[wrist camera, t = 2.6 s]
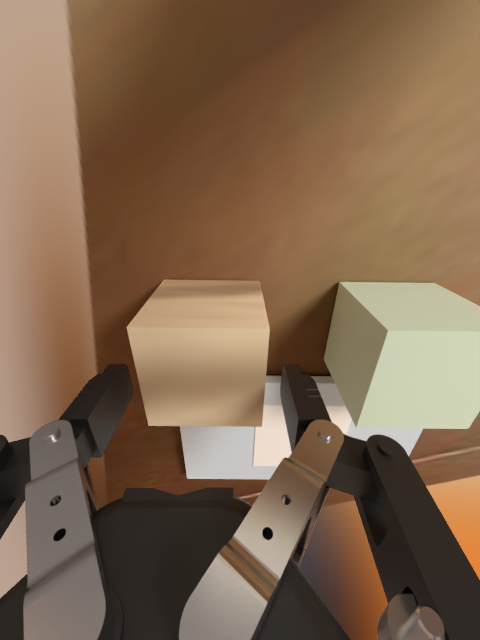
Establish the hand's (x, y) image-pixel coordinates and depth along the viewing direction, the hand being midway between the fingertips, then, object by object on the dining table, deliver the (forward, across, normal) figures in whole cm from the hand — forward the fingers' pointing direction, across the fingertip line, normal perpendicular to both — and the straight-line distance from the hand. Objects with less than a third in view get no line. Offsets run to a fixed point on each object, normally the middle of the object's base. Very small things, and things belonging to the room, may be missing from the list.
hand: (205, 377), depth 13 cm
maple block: (+5, 0, -1) cm, 5 cm away
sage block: (+5, -11, 0) cm, 12 cm away
